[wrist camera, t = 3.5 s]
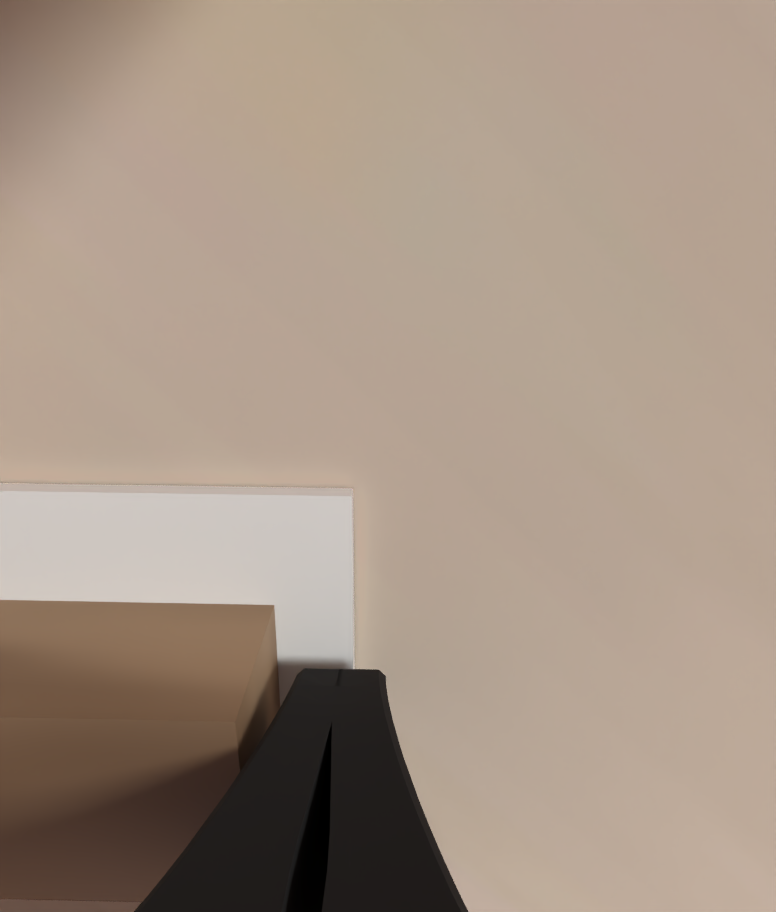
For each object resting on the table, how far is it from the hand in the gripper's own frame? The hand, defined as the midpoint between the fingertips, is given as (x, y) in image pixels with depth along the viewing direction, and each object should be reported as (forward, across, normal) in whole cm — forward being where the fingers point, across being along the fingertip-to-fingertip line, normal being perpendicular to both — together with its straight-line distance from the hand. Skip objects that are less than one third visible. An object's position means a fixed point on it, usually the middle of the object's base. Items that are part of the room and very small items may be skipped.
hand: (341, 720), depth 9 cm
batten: (+1, +5, 0) cm, 5 cm away
